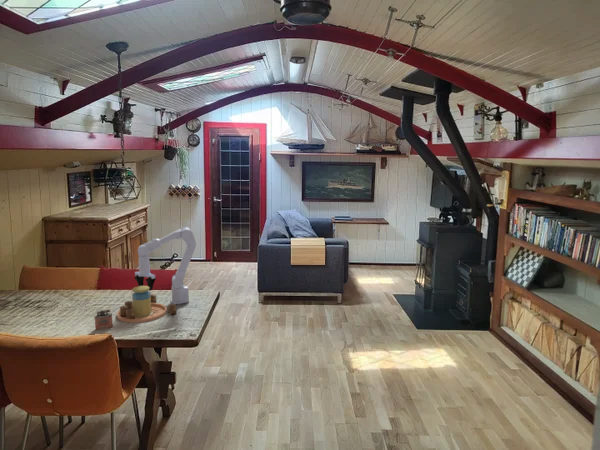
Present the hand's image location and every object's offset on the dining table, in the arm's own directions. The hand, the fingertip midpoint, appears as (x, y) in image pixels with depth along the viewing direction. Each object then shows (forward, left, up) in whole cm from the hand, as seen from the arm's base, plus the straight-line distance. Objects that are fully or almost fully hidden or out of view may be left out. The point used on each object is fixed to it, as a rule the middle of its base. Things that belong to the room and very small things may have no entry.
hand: (145, 289), depth 247 cm
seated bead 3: (+10, +21, -9) cm, 25 cm away
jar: (+4, +15, -10) cm, 18 cm away
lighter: (+23, +28, -10) cm, 37 cm away
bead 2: (-11, +20, -10) cm, 25 cm away
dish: (+4, +15, -9) cm, 18 cm away
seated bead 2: (+10, +9, -9) cm, 16 cm away
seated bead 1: (+13, +15, -9) cm, 22 cm away
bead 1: (-3, -1, -10) cm, 10 cm away
